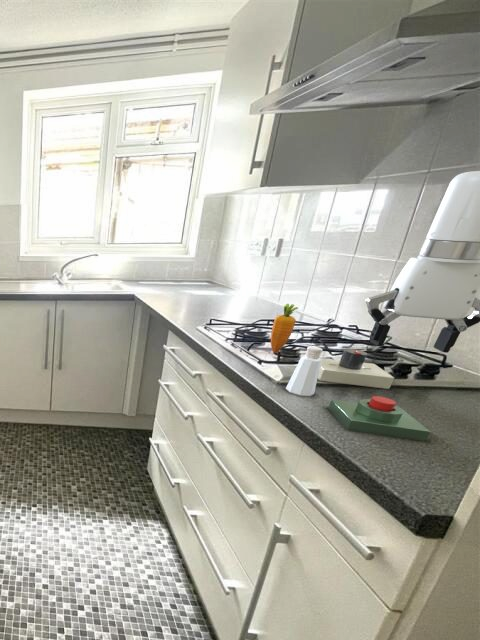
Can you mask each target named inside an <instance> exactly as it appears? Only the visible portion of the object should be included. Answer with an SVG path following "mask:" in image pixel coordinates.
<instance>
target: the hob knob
mask: <svg viewBox="0 0 480 640" xmlns="http://www.w3.org/2000/svg"><path fill="white" fill-rule="evenodd" d="M367 355H368V353H367V352H366V351H363V350H360V349H355V348H344V349H343V352H342V354H341V357H340V359H339V360H340V362H339V365H340V366H342V367H344V368H348V369H355V370H359V369H361V368H362V365H363V363H365V360H366V359H367Z"/></svg>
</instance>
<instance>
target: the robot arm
mask: <svg viewBox="0 0 480 640" xmlns="http://www.w3.org/2000/svg"><path fill="white" fill-rule="evenodd" d="M403 266H404V267H403V268H402V269H401V270H400V273H399V274H398V275H397V277H396V279H395V281H394V283H393V285H392V286H391V288H390V290H389V291H387V292H383V293H379V294H377V295H374V296H370V297H367V298H366V299H365V304H366V307H367V313H368V314H369V315H370V316H371V318H372V320H373V321H374V322H375V323H374V325H373V327H372V330H371V332H370V334H369V339H370V340H369V341H370V343H371V344H373V345H375V346H377V347H381V346H383V345H384V343H385V341H386V339H387V336H388V334H389V331H390V329H391V325H389V324H390V323H392V322H393V321H395V320H396V319H398V318H399V317H401V316H403V317H409V318H411V317H412V318H423V319H433V320H444V321H445V323H446V324H447V326H443V327H442V328H441V330H440V332H439V334H438V336H437V338H436V340H435V342H434V344H433V348H434V349H435V350H438V351H440V352H442V353H446V354H447V353H450V350H451V348H453V347H454V346H455V345H456V342H457V341H458V339H459V336H460V334H461V333H463V332H466V331H467V330H468V328H470V327H473V326H475V325H477V324H479V323H480V299H479V298H477V294H478V291H479V289H480V170H475V171H473V170H472V171H465V172H461V173H459V174H456V176H454V177H453V178H452V179H451V180H450V182H449V184H448V186H447V189H446V191H445V193H444V196H443V197H442V200H441V202H440V204H439V206H438V208H437V211H436V213H435V215H434V218H433V221H432V223H431V225H430V227H429V229H428V232H427V235H426V236H425V239H424V241H423V243H422V246H421V248H420V251H419V253H418V255H417V257H409V260H408V261H407V263H406V264H405V265H403ZM381 303H383V309H384V310H383V311H381V310H380V304H381ZM471 308H473V309H474V311H472V313H470V314H469V315H467V314H468V313H469V311H470V310H471Z"/></svg>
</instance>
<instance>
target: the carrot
mask: <svg viewBox="0 0 480 640" xmlns="http://www.w3.org/2000/svg"><path fill="white" fill-rule="evenodd" d="M298 309H299V307H298V306H295V304H293V303H292V304H290V303H286V304H285V305H284V306H283V314H280V315H277V316H275V318H274V321H273V324H272V328H271V332H270V333H271V334H270V348H271V351H272V353H273V354H277V353H279V352H280V351H281V350H282V349H283V347H284V346H285V345H286V344H287V342H288V341H289V339H290V337H291V335H292V333H293V330H294V327H295V325H296V321H297V320H296V318H295V317H294V316H292V314H293V313H294V311H295V310H298Z"/></svg>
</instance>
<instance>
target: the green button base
mask: <svg viewBox="0 0 480 640" xmlns="http://www.w3.org/2000/svg"><path fill="white" fill-rule="evenodd" d="M370 400H371V398H364V399H360V400H359V401H358V402H354V401H346V400H339V399H330V402H329V405H328V407H327V409H328V411H330V413H332V414H333V416H334V417H335V418H336V419H337V420H338V421H339V423H341V424H342V426H344V428H345V429H346V430H348V431H353V432H361V433H367V434H374V435H380V436H387V437H394V438H401V439H407V440H414V441H420V442H427V439H428V437H429V435H430V433H431V431H430V430H429V429H428V428H427V427H425V426H424V425H423V424H422V423H420V422H419V421H418V420H417V419H416V418H414V417H413V416H412V415H410V414H409V413H408V412H407V411H405V410H404V409H403V408H401V407H400V406H397V405H395V407H394V409H393V411H384V410H380V409H376V408H373V407H371V406H369V402H370Z"/></svg>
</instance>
